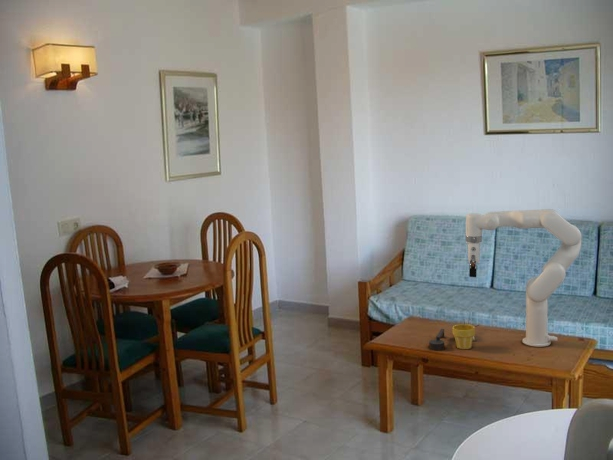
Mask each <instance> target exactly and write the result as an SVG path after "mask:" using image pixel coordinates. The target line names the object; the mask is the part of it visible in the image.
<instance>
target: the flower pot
mask: <svg viewBox="0 0 613 460" xmlns="http://www.w3.org/2000/svg"><path fill="white" fill-rule="evenodd" d="M452 335H453V336H454V340H455V344H456V345H455V346H456V348H457V349H460V350H469V349H472V347H473V342H474V341H473V336H474V337H475V335H476V327H475V326H474V325H472V324H468V323H467V324H466V323H465V324H464V323H461V324H455V325H453V326H452Z"/></svg>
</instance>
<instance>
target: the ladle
mask: <svg viewBox="0 0 613 460" xmlns="http://www.w3.org/2000/svg"><path fill="white" fill-rule="evenodd" d="M443 338H445V328H440V330H439V332H438V334H437V335H436V337H435V339H431V340H429V342H428V345H429V347H428V348H429V349H430V350H431V351H443V350H444V349H445V341H444V340H443ZM441 339H442V340H441Z"/></svg>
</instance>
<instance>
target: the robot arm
mask: <svg viewBox="0 0 613 460" xmlns="http://www.w3.org/2000/svg"><path fill="white" fill-rule="evenodd" d="M501 227H508V228H509V227H511V228H517V229H521V230H527V229H546V230H547V231H548V232H549V233H550V234H551V235H553V236H554V237H556V238H557V239H558V240H559V241H560V242H561V243H560V246H559V248H557V250H556V252H555V253H554V254H553V255H552V256H551V257H550V258H549V259H548V260H547V261H546V262H545V263H544V265H542V267H541V268H542V269H541V273H540V274H539V275H538V276H533V277H531V278H529V279H528V280H527V282H526V284H525V337H523V338H522V343H523V344H524V345H525V346H530V347H536V348H537V347H538V348H543V347H548V346H550V345H551V342H558V336H555V335H550V334H549V332H548V310H549V309H548V308H549V306H548V305H549V304H548V303H549V302H548V300H549V298H550V297H551V296H552V294H553V293H554V292H555V291H556V290H557V289H558V288H559V287H560V286H561V285H562V283H563V282H564V280H565V279H566V276H567V275H566V271H567V270H568V269H569V268H570V266H571V265H572V264H573V263H574V262H575V260H576V259H577V258H578V256H579V254H580V252H581V249H582V236H583V235H582V232H581V230H580V229H579V228H578V227H577V226H576V225H575V224H572V223H570V222H569V221H568V220H567V219H566V218H564V217H563V216H561V215H560V214H559V213H558V211H556V210H554V209H551V208H544V209H527V210H500V211H490V212H486V213H485V214H481V213H476V212H475V213H474V212H472V213H467V214H466V216H465V243H466V244H467V259H468V264H469V268H468V269H469V272H468V274H469V275H468V276H469V278H477V271H478V270H477V265H479V264H480V251H481V249H480V248H481V245H480V244H482V243H483V230H485V231H494V230H496V229H498V228H501Z"/></svg>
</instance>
